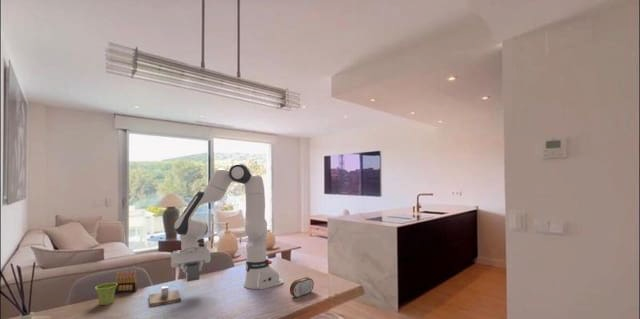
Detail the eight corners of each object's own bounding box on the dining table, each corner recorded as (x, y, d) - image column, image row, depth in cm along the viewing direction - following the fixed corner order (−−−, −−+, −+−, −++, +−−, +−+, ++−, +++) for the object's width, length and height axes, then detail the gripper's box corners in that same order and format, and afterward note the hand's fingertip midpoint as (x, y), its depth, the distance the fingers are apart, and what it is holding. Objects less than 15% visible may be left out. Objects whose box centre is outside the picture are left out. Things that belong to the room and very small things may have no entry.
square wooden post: (167, 294, 170) (167, 286, 170) (168, 296, 167) (168, 287, 168) (161, 296, 169) (161, 287, 169) (161, 297, 166) (161, 288, 166)
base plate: (178, 292, 177) (178, 289, 178) (180, 301, 165) (180, 298, 165) (149, 297, 171) (149, 294, 171) (149, 306, 158) (149, 303, 159)
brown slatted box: (136, 290, 182) (137, 268, 182) (135, 291, 180) (135, 269, 180) (116, 291, 180) (116, 269, 181) (114, 293, 178) (115, 270, 179)
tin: (310, 290, 179) (310, 275, 179) (314, 292, 176) (314, 276, 177) (289, 298, 168) (289, 281, 168) (293, 299, 166) (293, 282, 166)
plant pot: (92, 303, 163) (93, 286, 164) (114, 298, 170) (114, 281, 171) (97, 308, 157) (98, 290, 158) (119, 302, 164) (120, 285, 164)
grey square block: (197, 276, 179) (197, 262, 179) (199, 279, 174) (199, 265, 174) (185, 278, 176) (185, 264, 177) (187, 281, 171) (187, 267, 171)
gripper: (169, 248, 177) (171, 271, 168) (209, 243, 187) (212, 264, 178) (169, 255, 181) (171, 277, 172) (207, 250, 190) (211, 271, 181)
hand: (192, 271), depth 175 cm, fingers closed on grey square block, 6 cm apart
